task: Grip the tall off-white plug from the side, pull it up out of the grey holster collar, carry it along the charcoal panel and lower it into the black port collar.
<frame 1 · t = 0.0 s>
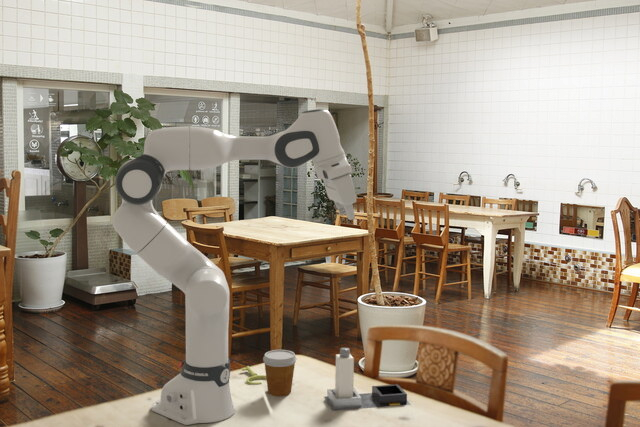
hand: (347, 216, 185), 52 cm above the table, tool tilted 20°, fingers open, 8 cm apart
plug: (343, 402, 190), point 1 cm above the table, touching panel
disposable coffee cup: (279, 396, 197), on the table
panel: (366, 403, 191), on the table
key: (254, 380, 210), on the table
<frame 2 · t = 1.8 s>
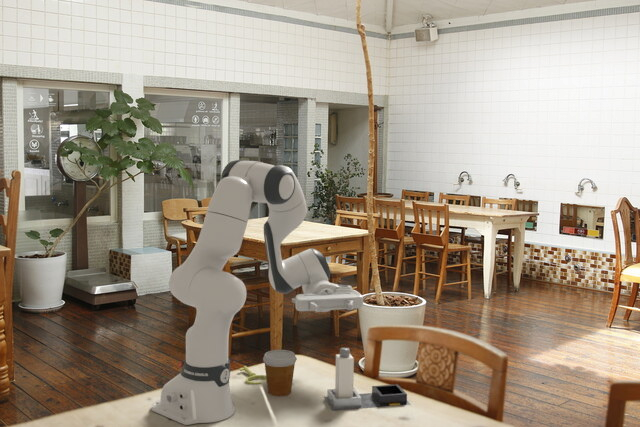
hand: (334, 308, 199), 24 cm above the table, tool horizontal, fingers open, 8 cm apart
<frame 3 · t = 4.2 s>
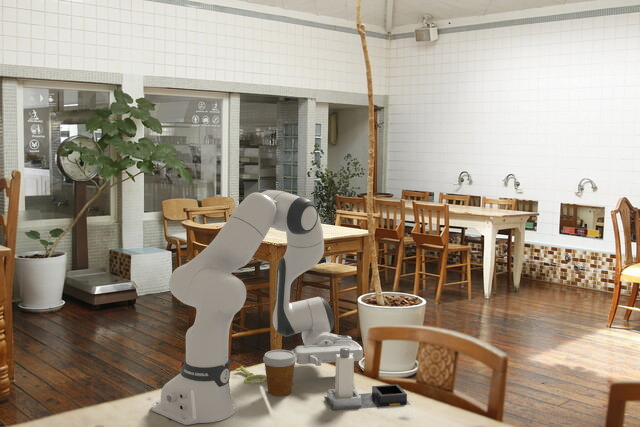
hand: (334, 362, 199), 9 cm above the table, tool horizontal, fingers open, 8 cm apart
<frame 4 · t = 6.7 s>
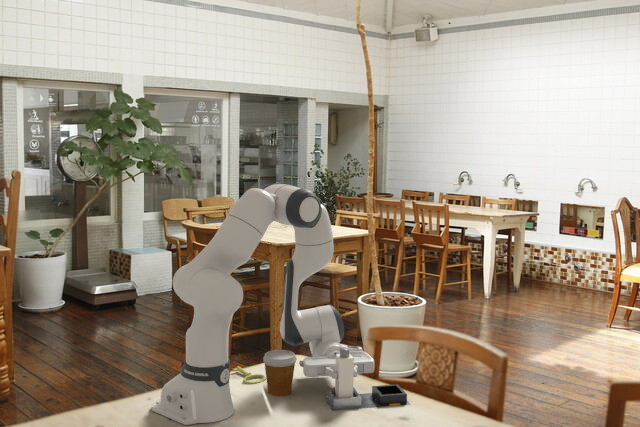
hand: (345, 375, 188), 9 cm above the table, tool horizontal, fingers closed on plug, 4 cm apart
plug: (343, 402, 190), point 1 cm above the table, touching gripper, panel
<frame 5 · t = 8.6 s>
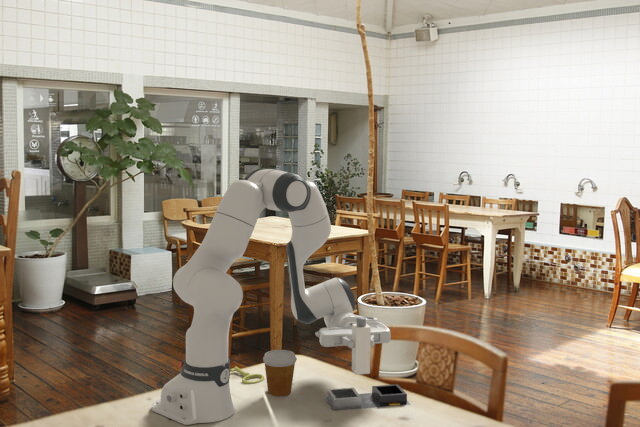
hand: (362, 344, 188), 17 cm above the table, tool horizontal, fingers closed on plug, 4 cm apart
plug: (360, 371, 190), point 9 cm above the table, touching gripper
when the fingers open (10 cm above the table, at t = 10.8 s): plug drops 1 cm, resting on panel.
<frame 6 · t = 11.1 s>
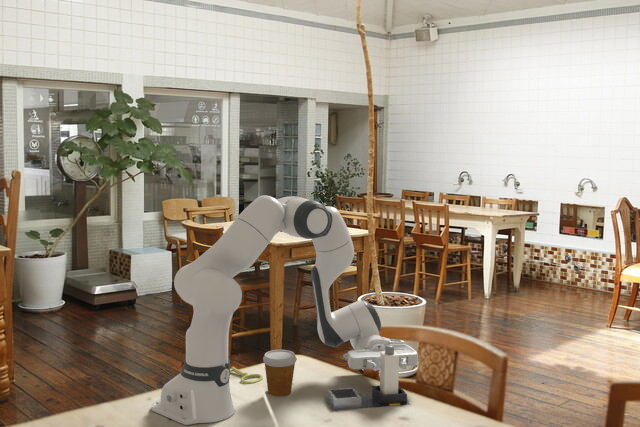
hand: (390, 367, 191), 10 cm above the table, tool horizontal, fingers open, 6 cm apart
plug: (388, 398, 193), point 1 cm above the table, touching panel
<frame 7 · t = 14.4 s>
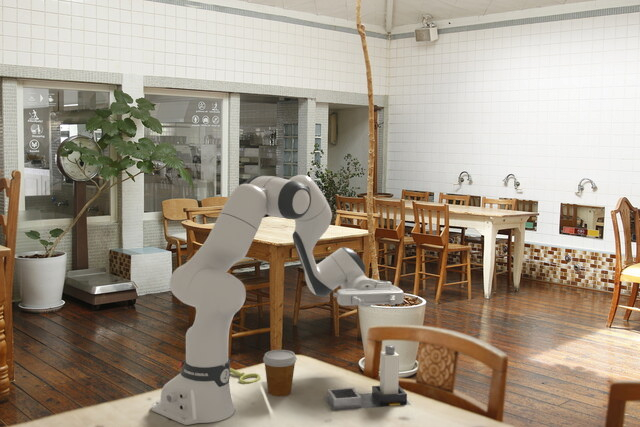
hand: (377, 302, 201), 25 cm above the table, tool horizontal, fingers open, 8 cm apart
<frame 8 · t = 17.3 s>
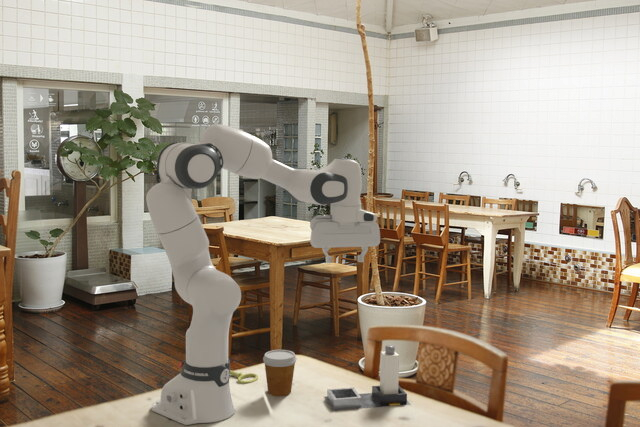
hand: (344, 262, 201), 37 cm above the table, tool pointing down, fingers open, 8 cm apart
at the end: plug 0.2 cm from the target spot on the panel, point 1.0 cm above the panel's base; plug tilted 0°; the gripper is holding nothing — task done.
